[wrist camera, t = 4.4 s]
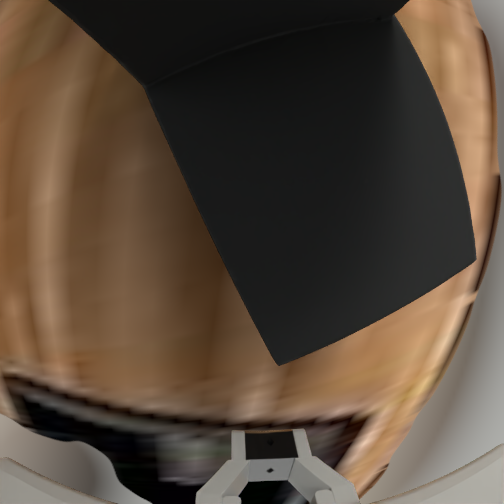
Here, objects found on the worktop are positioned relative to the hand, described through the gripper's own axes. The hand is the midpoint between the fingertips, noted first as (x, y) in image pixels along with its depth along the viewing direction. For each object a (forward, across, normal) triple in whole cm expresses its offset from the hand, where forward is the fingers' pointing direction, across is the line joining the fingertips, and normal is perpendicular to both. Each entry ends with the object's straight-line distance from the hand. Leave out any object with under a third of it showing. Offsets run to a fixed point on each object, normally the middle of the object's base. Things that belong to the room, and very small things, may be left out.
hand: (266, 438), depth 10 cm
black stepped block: (+11, 0, -15) cm, 19 cm away
